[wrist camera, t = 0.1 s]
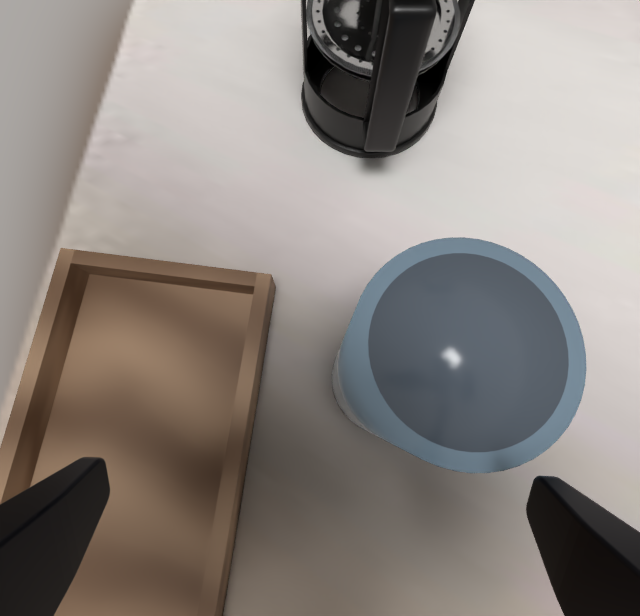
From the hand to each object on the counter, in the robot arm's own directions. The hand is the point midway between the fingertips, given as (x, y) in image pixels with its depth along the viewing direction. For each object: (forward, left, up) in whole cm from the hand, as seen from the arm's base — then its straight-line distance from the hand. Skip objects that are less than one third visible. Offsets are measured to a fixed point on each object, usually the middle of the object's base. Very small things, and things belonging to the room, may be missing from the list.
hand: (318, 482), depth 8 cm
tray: (+4, +9, -15) cm, 18 cm away
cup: (+1, -5, -15) cm, 16 cm away
